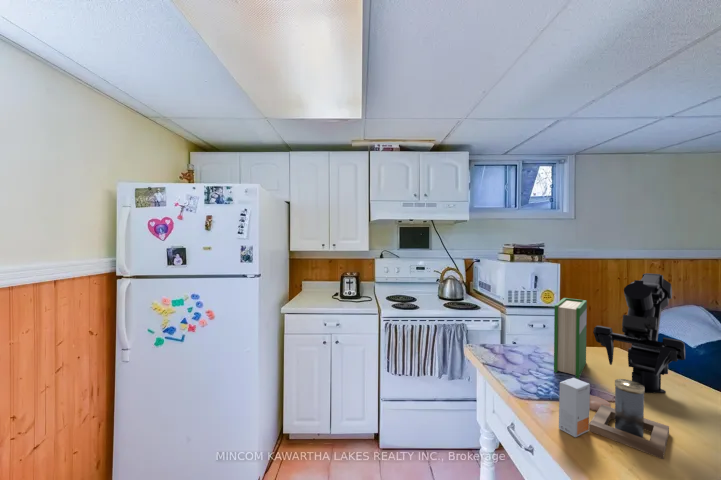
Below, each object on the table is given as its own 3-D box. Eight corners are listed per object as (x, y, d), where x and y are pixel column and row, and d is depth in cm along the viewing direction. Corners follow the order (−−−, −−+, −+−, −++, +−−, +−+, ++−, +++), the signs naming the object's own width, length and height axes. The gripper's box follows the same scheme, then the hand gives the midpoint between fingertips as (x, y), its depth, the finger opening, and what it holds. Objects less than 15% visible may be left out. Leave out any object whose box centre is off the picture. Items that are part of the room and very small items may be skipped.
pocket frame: (601, 410, 88) (601, 404, 88) (668, 433, 78) (669, 426, 78) (589, 430, 79) (589, 423, 79) (663, 459, 69) (663, 451, 69)
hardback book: (578, 378, 108) (579, 308, 107) (553, 372, 112) (554, 305, 112) (585, 362, 121) (586, 300, 120) (563, 357, 126) (563, 297, 125)
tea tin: (630, 425, 81) (630, 378, 81) (650, 439, 75) (651, 389, 75) (608, 425, 81) (609, 379, 81) (627, 439, 75) (628, 389, 75)
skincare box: (576, 438, 76) (576, 389, 76) (558, 428, 79) (558, 381, 79) (590, 431, 78) (590, 383, 78) (572, 422, 82) (572, 376, 82)
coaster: (596, 396, 95) (596, 394, 95) (618, 411, 87) (618, 408, 87) (570, 397, 95) (570, 394, 95) (589, 411, 87) (589, 408, 87)
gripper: (595, 298, 94) (584, 344, 87) (685, 309, 80) (680, 365, 73) (601, 319, 99) (591, 364, 92) (687, 333, 85) (682, 387, 78)
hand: (632, 369), depth 84 cm, fingers open, 9 cm apart
